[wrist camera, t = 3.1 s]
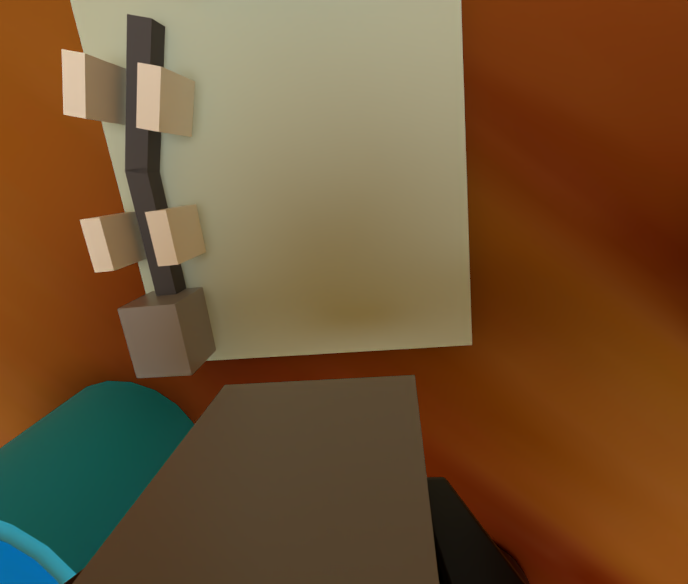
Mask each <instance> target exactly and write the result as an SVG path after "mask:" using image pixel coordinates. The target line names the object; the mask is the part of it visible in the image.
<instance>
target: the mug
mask: <svg viewBox="0 0 688 584" xmlns="http://www.w3.org/2000/svg"><path fill="white" fill-rule="evenodd" d="M193 426H194V423H193V422H192V421H191V420H190V419H189V418H188V417H187V415H186V414H185V413H184V412H183V411H182V410H181V409H180V408H179V406H178V405H177V404H175V403H174V402H172V401H171V400H169V399H168V398H166V397H165V396H163V395H162V394H160V393H159V392H157V391H156V390H153V389H150V388H147V387H144V386H141V385H138V384H135V383H133V382H119V381H105V382H102V383H98V384H95V385H91V386H87V387H85V388H84V389H83V390H81V391H80V392H78V393H77V394H76V395H74V396H73V397H71V398H70V399H69V400H67V401H66V402H64V403H63V404H62V405H60V406H59V407H57V408H56V409H55V410H53V411H52V412H50V413H49V414H48V415H46V416H45V417H43V418H42V419H41V420H39V421H38V422H36V423H35V424H34V425H32V426H31V427H29V428H28V429H27V430H25V431H24V432H22V433H21V434H20V435H18V436H17V437H15V438H14V439H13V440H11V441H10V442H8V443H7V444H6V445H4V446H3V447H1V448H0V584H64V583H65V582H67V581H68V580H69V579H71V578H72V577H73V576H74V575H76V574H77V573H78V572H80V571H81V570H82V569H84V568H85V567H86V565H87V564H88V563H89V561H90V560H91V559H92V557H93V556H94V555H95V553H96V552H97V551H98V550H99V548H100V547H101V546H102V544H103V543H104V542H105V540H106V539H107V538H108V537H109V535H110V534H111V533H112V531H113V530H114V529H115V527H116V526H117V525H118V524H119V522H120V521H121V520H122V518H123V517H124V516H125V514H126V513H127V512H128V510H129V509H130V508H131V507H132V505H133V504H134V503H135V501H136V500H137V499H138V497H139V496H140V495H141V494H142V492H143V491H144V490H145V488H146V487H147V486H148V484H149V483H150V482H151V481H152V479H153V478H154V477H155V475H156V474H157V473H158V471H159V470H160V469H161V467H162V466H163V465H164V464H165V462H166V461H167V460H168V458H169V457H170V456H171V454H172V453H173V452H174V451H175V449H176V448H177V447H178V445H179V444H180V443H181V441H182V440H183V439H184V437H185V436H186V435H187V434H188V432H189V431H190V430H191V428H192V427H193Z"/></svg>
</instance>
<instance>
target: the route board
mask: <svg viewBox="0 0 688 584" xmlns="http://www.w3.org/2000/svg"><path fill="white" fill-rule="evenodd" d="M70 1H71V5H72V9H73V13H74V17H75V21H76V25H77V29H78V32H79V36H80V40H81V44H82V48H83V52H84V53H85V54H88V55H91V56H93V57H96V58H99V59H101V60H104V61H107V62H109V63H112V64H115V65H117V66H120V67H123V68H125V69H126V47H127V14H130V15H136V16H142V17H147V18H152V19H154V20H155V21H157V22H158V23H160V24H162V25H163V26H165V46H164V68H166V69H168V70H170V71H173V72H175V73H177V74H179V75H182V76H184V77H186V78H188V79H191V80H193V81H195V91H194V107H193V124H192V137H188V136H182V135H175V134H169V133H162V132H161V151H160V175H161V180H162V184H163V188H164V193H165V197H166V201H167V206H168V208H171V207H177V206H185V205H194V204H196V206H197V211H198V215H199V220H200V225H201V230H202V234H203V239H204V244H205V249H206V252H205V253H203V254H201V255H199V256H196V257H194V258H192V259H190V260H187V261H185V262H183V263H181V267H182V271H183V276H184V280H185V284H186V288H196V287H203V292H204V296H205V301H206V305H207V310H208V315H209V319H210V324H211V328H212V333H213V338H214V342H215V347H216V351H215V352H214V353H213V354H212V355H211V356H210V357H209V358H208V359H207V360H206V361H211V360H228V359H245V358H261V357H278V356H295V355H312V354H329V353H346V352H362V351H379V350H396V349H413V348H430V347H447V346H463V345H472V323H471V292H470V261H469V230H468V199H467V168H466V138H465V107H464V76H463V45H462V14H461V0H70ZM101 122H102V125H103V129H104V133H105V137H106V141H107V145H108V149H109V153H110V156H111V160H112V164H113V168H114V172H115V176H116V180H117V184H118V187H119V191H120V195H121V199H122V203H123V207H124V211H125V212H133V211H135V209H134V205H133V202H132V198H131V194H130V190H129V186H128V182H127V178H126V174H125V125H122V124H116V123H110V122H103V121H101ZM138 265H139V269H140V273H141V277H142V280H143V284H144V288H145V292H146V294H147V293H149V292H151V291H155V289H154V285H153V281H152V277H151V273H150V269H149V265H148V261H147V259H145V260H142V261H139V262H138Z"/></svg>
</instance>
